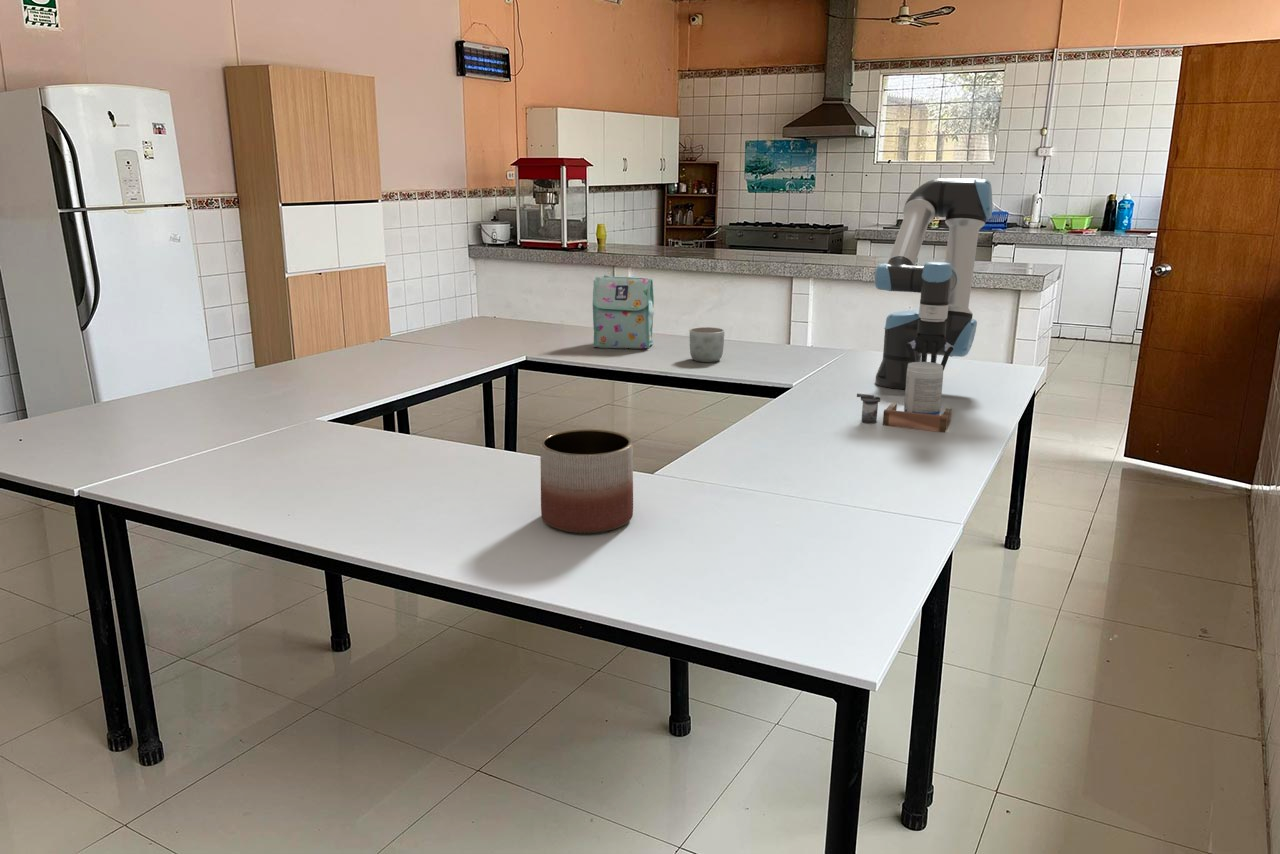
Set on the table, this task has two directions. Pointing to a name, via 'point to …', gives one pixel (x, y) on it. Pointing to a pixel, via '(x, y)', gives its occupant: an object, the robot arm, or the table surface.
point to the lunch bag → (623, 312)
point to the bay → (916, 419)
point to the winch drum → (869, 408)
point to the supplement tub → (923, 388)
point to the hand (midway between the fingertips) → (924, 402)
